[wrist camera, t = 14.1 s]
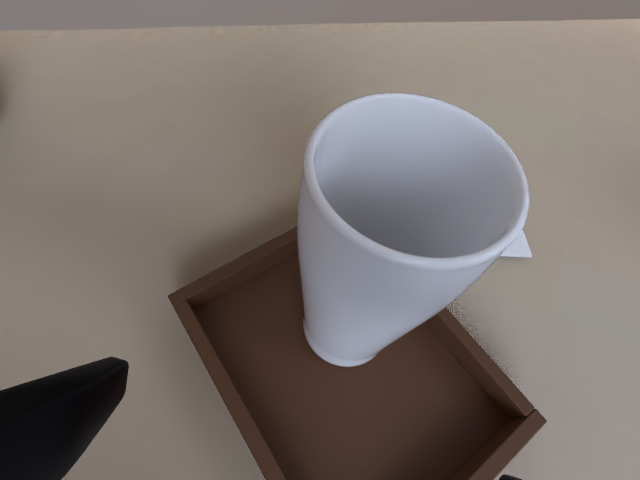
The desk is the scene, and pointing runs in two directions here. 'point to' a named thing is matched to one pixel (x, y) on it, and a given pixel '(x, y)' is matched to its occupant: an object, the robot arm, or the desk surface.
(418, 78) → the desk surface
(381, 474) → the tray
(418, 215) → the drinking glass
